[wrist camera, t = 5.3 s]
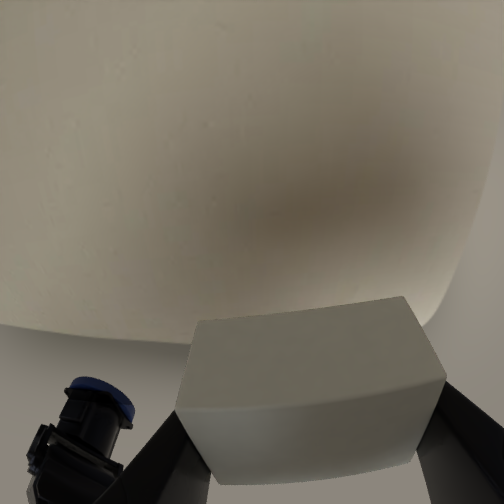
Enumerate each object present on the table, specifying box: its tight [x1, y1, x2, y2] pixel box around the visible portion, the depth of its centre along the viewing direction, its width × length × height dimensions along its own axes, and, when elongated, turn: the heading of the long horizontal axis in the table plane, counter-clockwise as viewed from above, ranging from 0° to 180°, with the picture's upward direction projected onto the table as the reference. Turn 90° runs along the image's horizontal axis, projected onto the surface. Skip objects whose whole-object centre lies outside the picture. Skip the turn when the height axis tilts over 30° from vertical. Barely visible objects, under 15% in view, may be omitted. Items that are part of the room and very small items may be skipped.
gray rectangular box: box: [175, 296, 447, 485], centre depth 8 cm, size 4×6×3 cm
